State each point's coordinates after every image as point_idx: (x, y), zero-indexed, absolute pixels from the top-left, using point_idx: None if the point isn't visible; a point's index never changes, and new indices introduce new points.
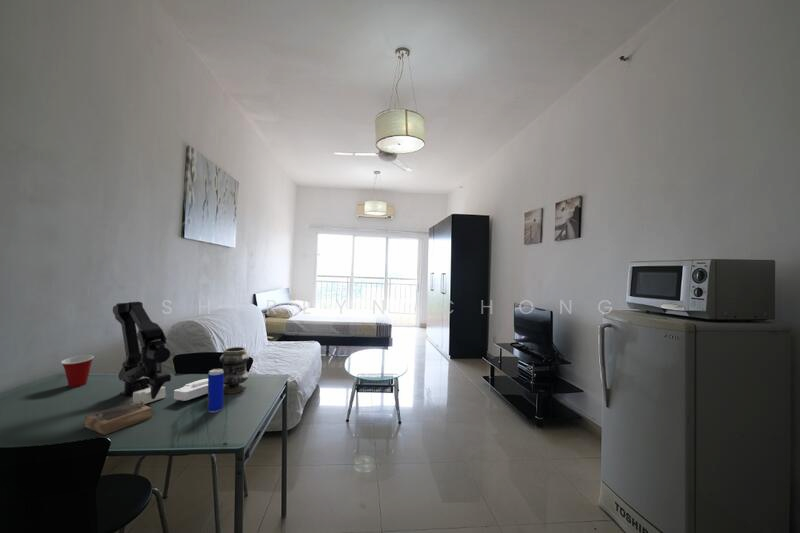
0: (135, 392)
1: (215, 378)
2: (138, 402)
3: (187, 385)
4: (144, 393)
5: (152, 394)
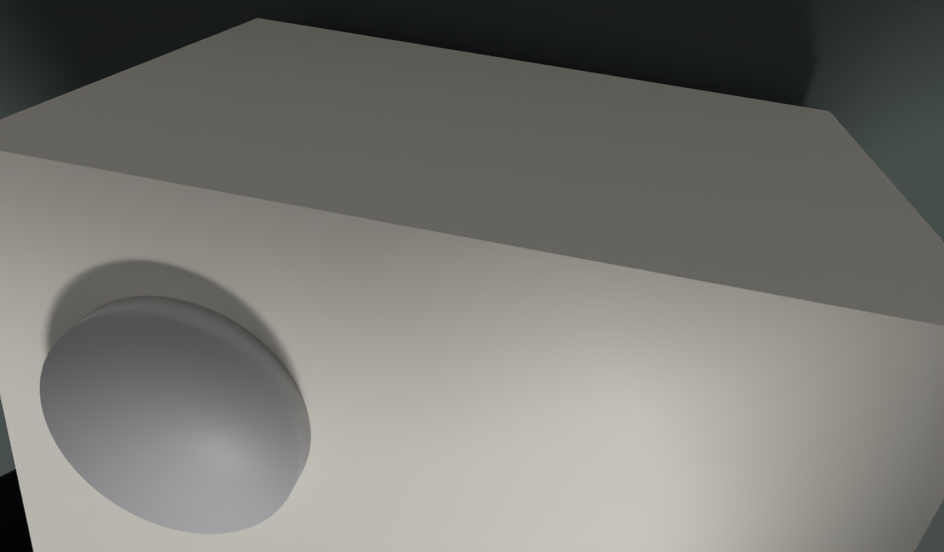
0: (795, 368)
1: None
2: (413, 61)
3: None
4: (59, 361)
5: (8, 478)
